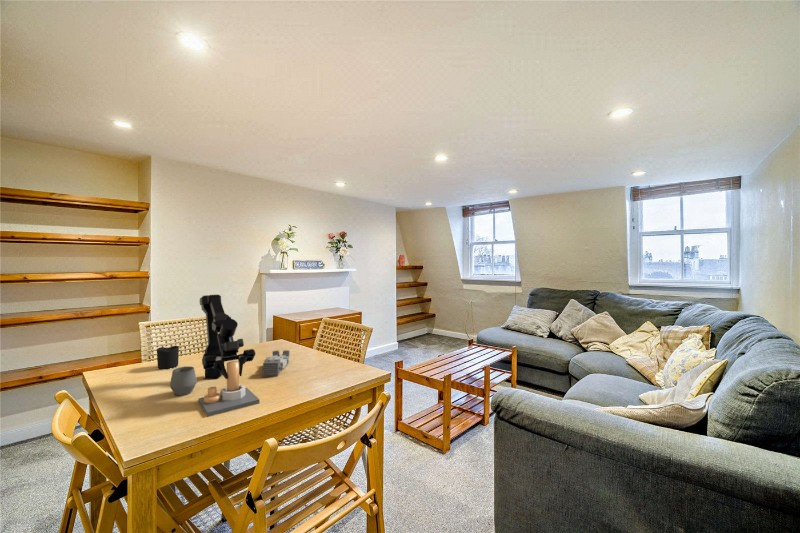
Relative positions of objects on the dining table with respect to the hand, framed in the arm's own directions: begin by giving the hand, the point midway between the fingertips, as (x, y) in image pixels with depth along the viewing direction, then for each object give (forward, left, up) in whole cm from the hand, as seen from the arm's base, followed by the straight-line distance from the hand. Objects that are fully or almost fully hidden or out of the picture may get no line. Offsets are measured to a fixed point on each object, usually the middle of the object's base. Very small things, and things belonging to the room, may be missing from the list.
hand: (234, 377), depth 136 cm
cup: (-24, +10, -10) cm, 28 cm away
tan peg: (-1, +1, -8) cm, 8 cm away
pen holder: (-49, +46, -10) cm, 68 cm away
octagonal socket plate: (-1, -2, -9) cm, 10 cm away
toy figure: (+6, +42, -10) cm, 44 cm away
